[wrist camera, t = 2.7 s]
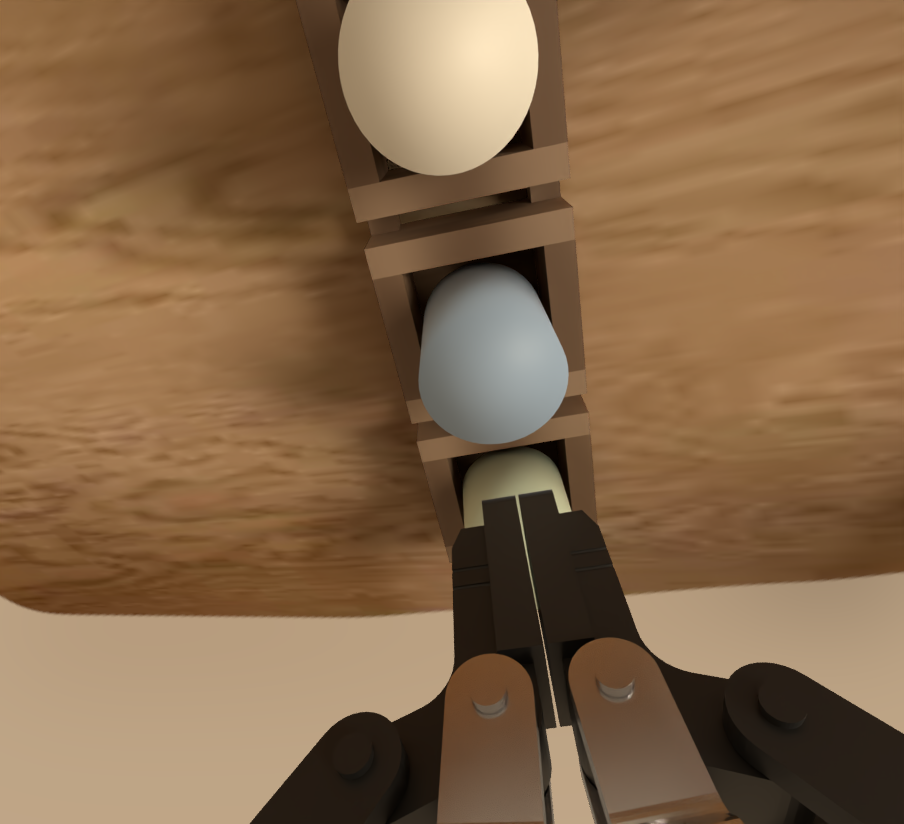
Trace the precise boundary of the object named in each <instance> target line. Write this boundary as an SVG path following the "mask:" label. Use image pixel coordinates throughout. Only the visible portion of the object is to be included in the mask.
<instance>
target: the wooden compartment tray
mask: <svg viewBox="0 0 904 824" xmlns="http://www.w3.org/2000/svg"><path fill="white" fill-rule="evenodd" d="M348 2H349V0H296V3H297V7H298V11H299V14H300V18H301V22H302V25H303V29H304V32H305V36H306V40H307V43H308V47H309V51H310V54H311V58H312V62H313V65H314V69H315V73H316V76H317V80H318V84H319V87H320V91H321V95H322V98H323V102H324V105H325V109H326V113H327V116H328V120H329V124H330V127H331V131H332V135H333V138H334V142H335V146H336V149H337V153H338V157H339V160H340V164H341V168H342V171H343V175H344V178H345V182H346V186H347V189H348V193H349V197H350V200H351V204H352V208H353V211H354V215H355V219H356V222H357V223H359V222H364V221H368V225H369V229H370V233H371V237H370V239H369V241H368V243H367V245H366V247H365V249H364V251H365V255H366V259H367V262H368V266H369V270H370V273H371V277H372V281H373V284H374V288H375V292H376V295H377V299H378V303H379V306H380V310H381V313H382V317H383V321H384V324H385V328H386V332H387V335H388V339H389V343H390V346H391V350H392V354H393V357H394V361H395V365H396V368H397V372H398V376H399V379H400V383H401V386H402V390H403V394H404V397H405V401H406V405H407V408H408V412H409V416H410V419H411V423H412V424H414V423H418V431H417V445H418V448H419V452H420V456H421V459H422V463H423V467H424V470H425V474H426V478H427V481H428V485H429V489H430V492H431V496H432V500H433V503H434V507H435V511H436V514H437V518H438V521H439V525H440V529H441V532H442V536H443V540H444V543H445V547H446V551H447V554H448V558H449V562H450V563H452V547H453V545H454V543H455V540H456V538H457V536H458V534H459V532H460V530H461V529H463V528H464V508H463V487H462V483H461V478H460V474H459V470H458V466H457V461H456V457H457V456H463V455H469V454H475V453H481V452H487V451H493V450H499V449H505V448H511V447H517V446H523V445H529V444H535V443H541V442H547V441H553V440H556V445H557V454H558V462H559V471H560V475H561V479H562V482H563V485H564V488H565V492H566V495H567V498H568V501H569V505H570V508H571V511H578V510H583V511H584V512H585V513H586V514H587V515H588V516H589V517H590V518H591V519H592V520H593V521H594V522H595V523H596V524H597V513H596V500H595V487H594V474H593V461H592V448H591V435H590V422H589V412H588V410H587V408H586V405H585V403H584V401H583V399H582V397H581V394H586V393H587V384H586V371H585V358H584V345H583V332H582V319H581V306H580V293H579V280H578V267H577V255H576V242H575V229H574V216H573V207H572V206H571V205H570V204H569V203H568V202H566V201H565V200H564V199H563V198H562V197H561V194H560V183H559V181H560V180H565V179H570V178H571V177H570V164H569V151H568V138H567V125H566V112H565V100H564V87H563V74H562V61H561V48H560V35H559V22H558V9H557V0H526V2H527V4H528V6H529V9H530V12H531V15H532V18H533V21H534V25H535V30H536V36H537V43H538V73H537V80H536V86H535V90H534V94H533V98H532V101H531V104H530V107H529V109H528V112H527V114H526V116H525V118H524V120H523V122H522V124H521V126H520V127H519V128H520V137H521V142H518V143H514V144H509V145H506V146H505V147H504V148H503V149H502V150H501V151H500V152H498V153H497V154H496V155H495V156H494V157H492V158H491V159H489V160H488V161H487V162H485V163H484V164H482V165H480V166H478V167H476V168H474V169H471V170H468V171H465V172H462V173H458V174H453V175H442V176H435V175H425V174H421V173H417V172H413V171H411V170H408V169H406V168H398V169H394V170H389V171H388V167H387V162H386V158H385V156H384V155H382V154H381V153H380V152H379V151H378V150H377V149H376V148H375V147H374V146H373V145H372V144H371V143H370V142H369V141H368V140H367V138H366V137H365V136H364V135H363V133H362V132H361V130H360V129H359V127H358V126H357V124H356V122H355V121H354V119H353V116H352V114H351V112H350V110H349V108H348V105H347V103H346V100H345V97H344V94H343V90H342V85H341V81H340V74H339V66H338V45H339V35H340V29H341V24H342V20H343V16H344V13H345V10H346V7H347V4H348ZM522 188H527V197H528V198H525V199H520V200H515V201H510V202H506V203H501V204H496V205H491V206H486V207H482V208H477V209H472V210H467V211H462V212H457V213H453V214H448V215H443V216H438V217H433V218H428V219H424V220H419V221H414V222H409V223H404V224H401V222H400V218H399V214H402V213H407V212H412V211H417V210H421V209H426V208H431V207H436V206H441V205H445V204H450V203H455V202H460V201H465V200H469V199H474V198H479V197H484V196H488V195H493V194H498V193H503V192H508V191H512V190H517V189H522ZM530 248H534V257H535V265H536V274H537V282H538V291H539V299H540V301H541V304H542V306H543V308H544V310H545V312H546V314H547V316H548V318H549V320H550V323H551V325H552V327H553V329H554V331H555V333H556V335H557V337H558V340H559V342H560V344H561V346H562V348H563V350H564V353H565V356H566V359H567V364H568V373H569V375H568V385H567V389H566V393H565V396H564V398H563V401H562V403H561V404H560V406H559V408H558V409H557V411H556V412H555V414H554V415H553V416H552V417H551V418H550V419H549V421H548V422H546V423H545V424H544V425H543V426H542V427H541V428H539V429H538V430H536V431H535V432H533V433H531V434H529V435H527V436H526V437H523V438H521V439H518V440H515V441H511V442H507V443H501V444H479V443H473V442H469V441H466V440H462V439H460V438H458V437H456V436H453V435H452V434H450V433H448V432H447V431H445V430H444V429H443V428H441V427H440V426H439V425H438V424H437V423H436V422H435V421H434V420H433V419H432V417H431V416H430V415H429V413H428V412H427V410H426V408H425V406H424V404H423V401H422V399H421V395H420V391H419V381H418V380H419V367H420V356H421V345H422V334H423V323H424V320H423V316H422V312H421V308H420V303H419V299H418V295H417V291H416V286H415V282H414V278H413V273H412V272H415V271H420V270H425V269H430V268H435V267H440V266H445V265H450V264H455V263H460V262H465V261H470V260H475V259H480V258H485V257H490V256H495V255H500V254H505V253H510V252H515V251H520V250H525V249H530Z"/></svg>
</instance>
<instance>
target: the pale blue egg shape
mask: <svg viewBox="0 0 904 824" xmlns="http://www.w3.org/2000/svg"><path fill="white" fill-rule="evenodd" d="M568 375H569V373H568V364H567V359H566V356H565V353H564V350H563V348H562V346H561V344H560V342H559V340H558V337H557V335H556V333H555V331H554V329H553V327H552V325H551V323H550V320H549V318H548V316H547V314H546V312H545V310H544V308H543V306H542V304H541V301H540V299H539V297H538V295H537V293H536V291H535V290H534V288H533V286H532V285H531V284H530V283H529V281H528V280H527V279H526V278H525V277H524V276H522V275H521V274H520V273H518V272H517V271H515V270H513V269H511V268H509V267H507V266H504V265H501V264H496V263H488V262H483V263H474V264H469V265H466V266H463V267H460V268H458V269H456V270H454V271H453V272H451V273H449V274H448V275H447V276H445V277H444V278H443V279H442V280H441V281H440V282H439V283H438V284H437V285H436V287H435V288H434V290H433V291H432V293H431V295H430V297H429V299H428V301H427V304H426V308H425V313H424V323H423V334H422V345H421V356H420V367H419V380H418V381H419V391H420V395H421V399H422V401H423V404H424V406H425V408H426V410H427V412H428V413H429V415H430V416H431V417H432V419H433V420H434V421H435V422H436V423H437V424H438V425H439V426H440V427H441V428H443V429H444V430H445V431H447V432H448V433H450V434H452V435H453V436H456V437H458V438H460V439H462V440H466V441H469V442H473V443H479V444H501V443H507V442H511V441H515V440H518V439H521V438H523V437H526V436H527V435H529V434H531V433H533V432H535V431H536V430H538V429H539V428H541V427H542V426H543V425H544V424H545V423H546V422H548V421H549V419H550V418H551V417H552V416H553V415H554V414H555V412H556V411H557V409H558V408H559V406H560V404H561V403H562V401H563V398H564V396H565V393H566V389H567V385H568Z"/></svg>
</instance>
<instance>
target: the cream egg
mask: <svg viewBox="0 0 904 824" xmlns="http://www.w3.org/2000/svg"><path fill="white" fill-rule="evenodd" d="M338 66H339V74H340V81H341V85H342V90H343V94H344V97H345V100H346V103H347V105H348V108H349V110H350V112H351V114H352V116H353V119H354V121H355V122H356V124H357V126H358V127H359V129H360V130H361V132H362V133H363V135H364V136H365V137H366V138H367V140H368V141H369V142H370V143H371V144H372V145H373V146H374V147H375V148H376V149H377V150H378V151H379V152H380V153H381V154H382V155H384V156H385V157H386V158H388V159H389V160H390V161H392V162H394V163H396V164H397V165H399V166H401V167H403V168H406V169H408V170H411V171H413V172H417V173H421V174H425V175H435V176H442V175H453V174H458V173H462V172H465V171H468V170H471V169H474V168H476V167H478V166H480V165H482V164H484V163H485V162H487V161H488V160H489V159H491V158H492V157H494V156H495V155H496V154H497V153H498V152H500V151H501V150H502V149H503V148H504V147H505V146H506V145H507V143H508V142H509V141H510V140H511V139H512V138H513V136H514V135H515V133H516V132H517V130H518V129H519V127H520V126H521V124H522V122H523V120H524V118H525V116H526V114H527V112H528V109H529V107H530V104H531V101H532V98H533V94H534V90H535V86H536V80H537V73H538V43H537V36H536V30H535V25H534V21H533V18H532V15H531V12H530V9H529V6H528V4H527V2H526V0H349V2H348V4H347V7H346V10H345V13H344V16H343V20H342V24H341V29H340V35H339V45H338Z"/></svg>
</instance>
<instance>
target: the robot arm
mask: <svg viewBox="0 0 904 824" xmlns="http://www.w3.org/2000/svg"><path fill="white" fill-rule="evenodd" d="M518 498H519V504H520V511H521V517H522V523H523V529H524V535H525V541H526V548H527V553H528V559H529V565H530V570H531V576H532V581H533V586H534V592H535V597H536V602H537V607H538V613H539V617H540V623H541V628H542V634H543V639H544V644H545V649H546V654H547V660H548V665H549V670H550V676H551V681H552V686H553V691H554V696H555V702H556V706H557V712H558V718H559V722H560V726H561V727H562V726H570V725H572V727H573V731H574V736H575V741H576V746H577V751H578V756H579V764H580V771H581V776H582V780H583V783H584V787H585V791H586V794H587V798H588V801H589V805H590V808H591V812H592V816H593V819H594V823H595V824H904V734H903V733H901V732H900V731H897V730H896V729H894V728H893V727H891V726H889V725H888V724H886V723H884V722H883V721H881V720H879V719H878V718H876V717H874V716H872V715H871V714H869V713H868V712H866V711H864V710H862V709H861V708H859V707H857V706H856V705H854V704H852V703H851V702H849V701H847V700H846V699H844V698H842V697H841V696H839V695H837V694H836V693H834V692H832V691H830V690H829V689H827V688H825V687H824V686H822V685H820V684H819V683H817V682H815V681H814V680H812V679H810V678H809V677H807V676H805V675H803V674H802V673H800V672H798V671H796V670H794V669H791V668H789V667H786V666H783V665H779V664H774V663H753V664H748V665H746V666H743V667H741V668H739V669H738V670H736V671H735V672H734V673H733V674H732V675H731V676H730V678H729V679H725V678H719V677H714V676H707V675H702V674H697V673H691V672H687V671H683V670H680V669H678V668H675V667H673V666H671V665H669V664H667V663H665V662H663V661H662V660H660V659H659V658H658V657H656V656H655V655H654V654H653V653H652V652H651V651H650V650H649V649H648V648H647V647H646V646H645V644H644V643H643V641H642V640H641V638H640V636H639V634H638V632H637V629H636V627H635V624H634V621H633V618H632V615H631V613H630V610H629V607H628V604H627V602H626V599H625V596H624V594H623V591H622V588H621V585H620V583H619V580H618V577H617V575H616V572H615V569H614V568H613V565H612V561H611V558H610V556H609V553H608V550H607V549H606V545H605V542H604V539H603V536H602V534H601V531H600V528H599V526H598V525H597V524H596V523H595V522H594V521H593V520H592V519H591V518H590V517H589V516H588V515H587V514H586V513H585V512H584V511H583V510H578V511H572V512H565V513H559V511H558V508H557V504H556V501H555V497H554V494H553V491H552V489H550V490H544V491H538V492H531V493H525V494H519V495H518ZM482 510H483V520H484V525H483V526H476V527H470V528H463V529H461V530H460V532H459V534H458V536H457V538H456V540H455V543H454V545H453V547H452V571H453V574H452V579H453V615H454V616H453V617H454V653H455V658H454V667H453V672H452V674H451V677H450V679H449V681H448V683H447V685H446V686H445V688H444V689H443V690H442V692H441V693H440V694H439V695H438V696H437V697H436V698H435V699H434V700H432V701H431V702H430V703H429V704H427V705H425V706H424V707H422V708H420V709H418V710H416V711H414V712H412V713H410V714H408V715H406V716H404V717H402V718H400V719H398V720H396V721H394V722H390V721H389V720H388V719H387V718H386V717H384V716H382V715H380V714H377V713H372V712H360V713H357V714H352V715H350V716H347V717H345V718H343V719H342V720H340V721H338V722H337V723H336V724H335V725H334V726H332V727H331V728H330V729H329V730H328V731H327V732H326V733H325V734H324V736H323V737H322V738H321V739H320V740H319V742H318V743H317V744H316V745H315V746H314V747H313V749H312V750H311V751H310V752H309V754H308V755H307V756H306V757H305V758H304V759H303V761H302V762H301V763H300V764H299V765H298V767H297V768H296V769H295V770H294V771H293V773H292V774H291V775H290V776H289V777H288V779H287V780H286V781H285V782H284V783H283V785H282V786H281V787H280V788H279V789H278V790H277V792H276V793H275V794H274V795H273V796H272V798H271V799H270V800H269V801H268V803H267V804H266V805H265V806H264V807H263V808H262V810H261V811H260V812H259V813H258V814H257V816H256V817H255V818H254V819H253V820H252V822H251V823H250V824H554V814H553V804H552V793H551V782H550V778H551V769H552V768H551V759H550V753H549V747H548V741H547V735H546V729H548V728H556V721H555V715H554V709H553V703H552V696H551V690H550V684H549V678H548V671H547V666H546V659H545V653H544V647H543V641H542V636H541V630H540V625H539V620H538V614H537V609H536V604H535V598H534V593H533V588H532V582H531V577H530V572H529V566H528V561H527V556H526V550H525V545H524V540H523V534H522V529H521V524H520V518H519V513H518V508H517V503H516V497H515V495H514V496H507V497H501V498H495V499H488V500H482Z"/></svg>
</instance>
